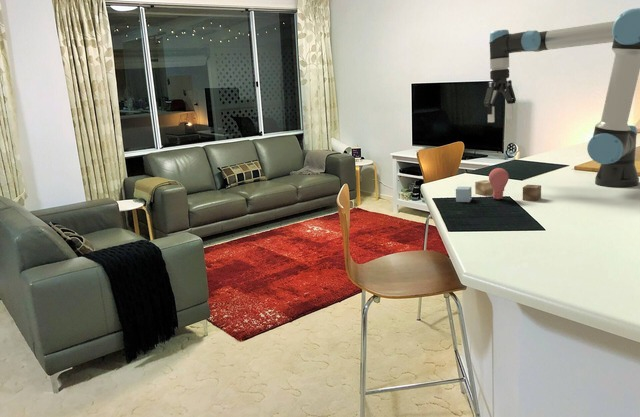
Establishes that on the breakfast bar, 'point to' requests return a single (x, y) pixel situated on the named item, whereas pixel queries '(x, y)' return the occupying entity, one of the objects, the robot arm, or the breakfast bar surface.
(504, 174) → the light bulb
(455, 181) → the breakfast bar surface
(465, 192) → the slate-blue painted block
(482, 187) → the oak block
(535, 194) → the walnut block
